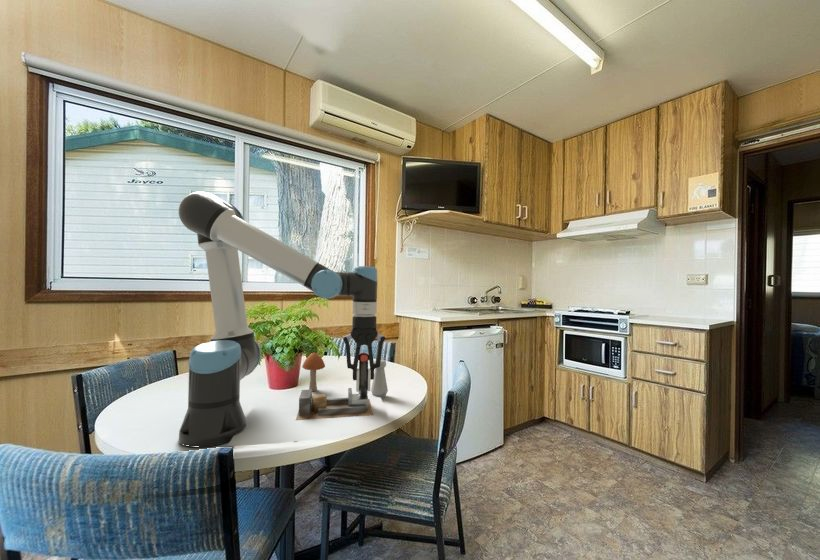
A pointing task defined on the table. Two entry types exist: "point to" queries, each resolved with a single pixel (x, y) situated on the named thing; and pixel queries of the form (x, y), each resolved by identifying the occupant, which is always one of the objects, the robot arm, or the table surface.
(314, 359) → the mushroom
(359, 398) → the handle
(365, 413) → the press bench
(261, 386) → the table surface
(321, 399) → the brown wooden cube
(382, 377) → the salt shaker
